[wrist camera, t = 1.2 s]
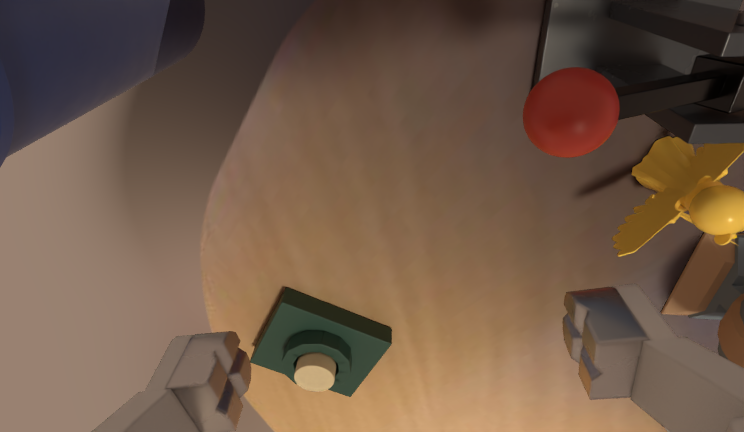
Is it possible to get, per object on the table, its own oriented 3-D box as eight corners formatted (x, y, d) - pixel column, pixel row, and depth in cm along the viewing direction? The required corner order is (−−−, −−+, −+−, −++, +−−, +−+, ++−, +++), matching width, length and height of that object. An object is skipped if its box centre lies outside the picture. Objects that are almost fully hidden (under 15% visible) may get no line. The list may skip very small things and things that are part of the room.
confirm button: (291, 369, 45) (288, 384, 44) (306, 346, 43) (302, 360, 42) (326, 382, 46) (324, 396, 44) (342, 359, 44) (341, 374, 42)
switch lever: (500, 146, 20) (557, 179, 17) (511, 64, 18) (577, 86, 15) (701, 102, 24) (775, 123, 21) (727, 31, 22) (812, 44, 19)
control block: (255, 346, 49) (244, 376, 45) (286, 286, 44) (277, 315, 40) (351, 380, 51) (349, 411, 48) (391, 328, 46) (391, 358, 43)
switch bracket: (529, 103, 33) (596, 182, 22) (551, -33, 28) (650, -18, 17) (693, 100, 32) (845, 179, 22) (744, -41, 28) (972, -30, 17)
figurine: (682, 257, 40) (748, 329, 32) (578, 203, 37) (625, 267, 30) (805, 151, 34) (919, 209, 27) (692, 78, 32) (784, 120, 24)
